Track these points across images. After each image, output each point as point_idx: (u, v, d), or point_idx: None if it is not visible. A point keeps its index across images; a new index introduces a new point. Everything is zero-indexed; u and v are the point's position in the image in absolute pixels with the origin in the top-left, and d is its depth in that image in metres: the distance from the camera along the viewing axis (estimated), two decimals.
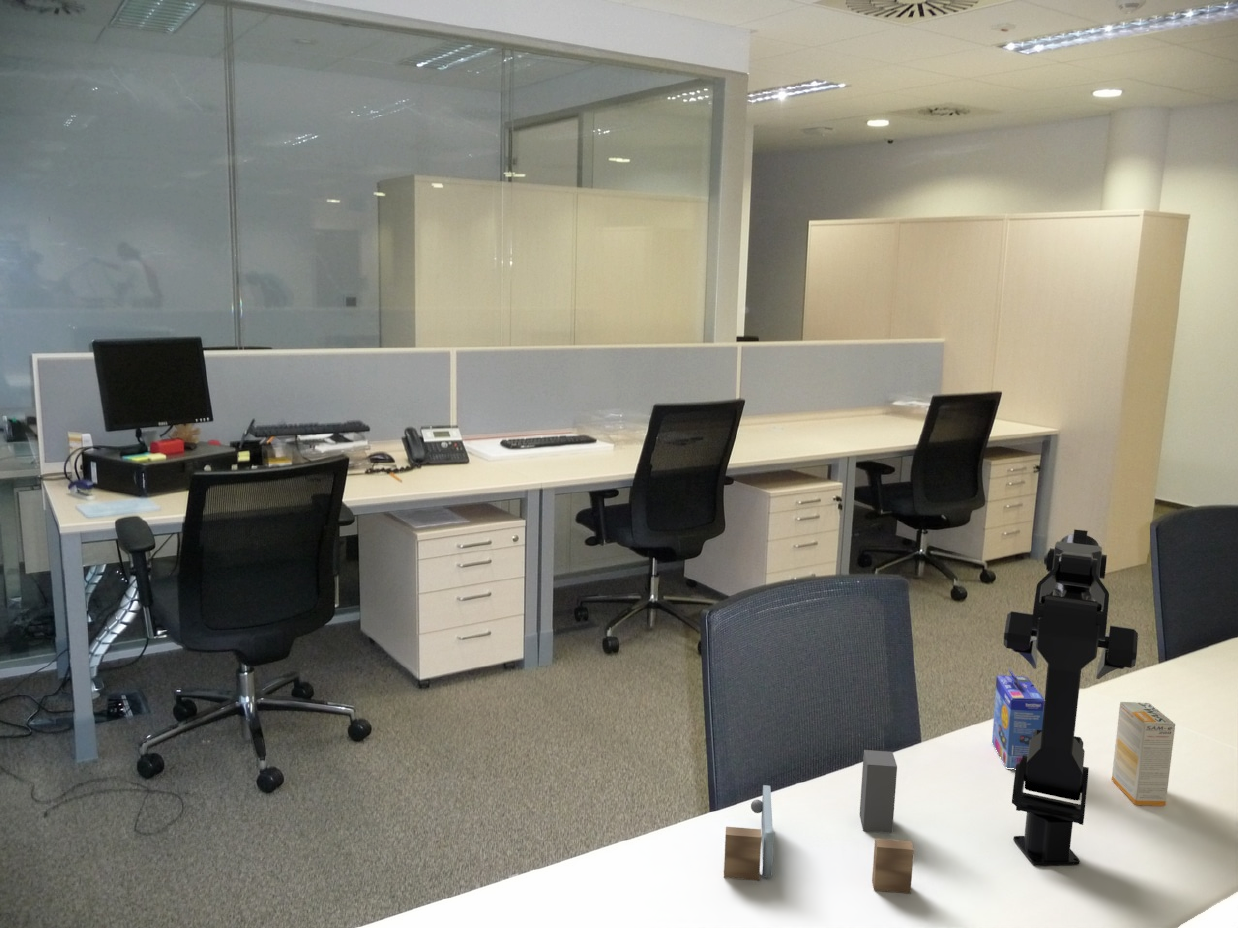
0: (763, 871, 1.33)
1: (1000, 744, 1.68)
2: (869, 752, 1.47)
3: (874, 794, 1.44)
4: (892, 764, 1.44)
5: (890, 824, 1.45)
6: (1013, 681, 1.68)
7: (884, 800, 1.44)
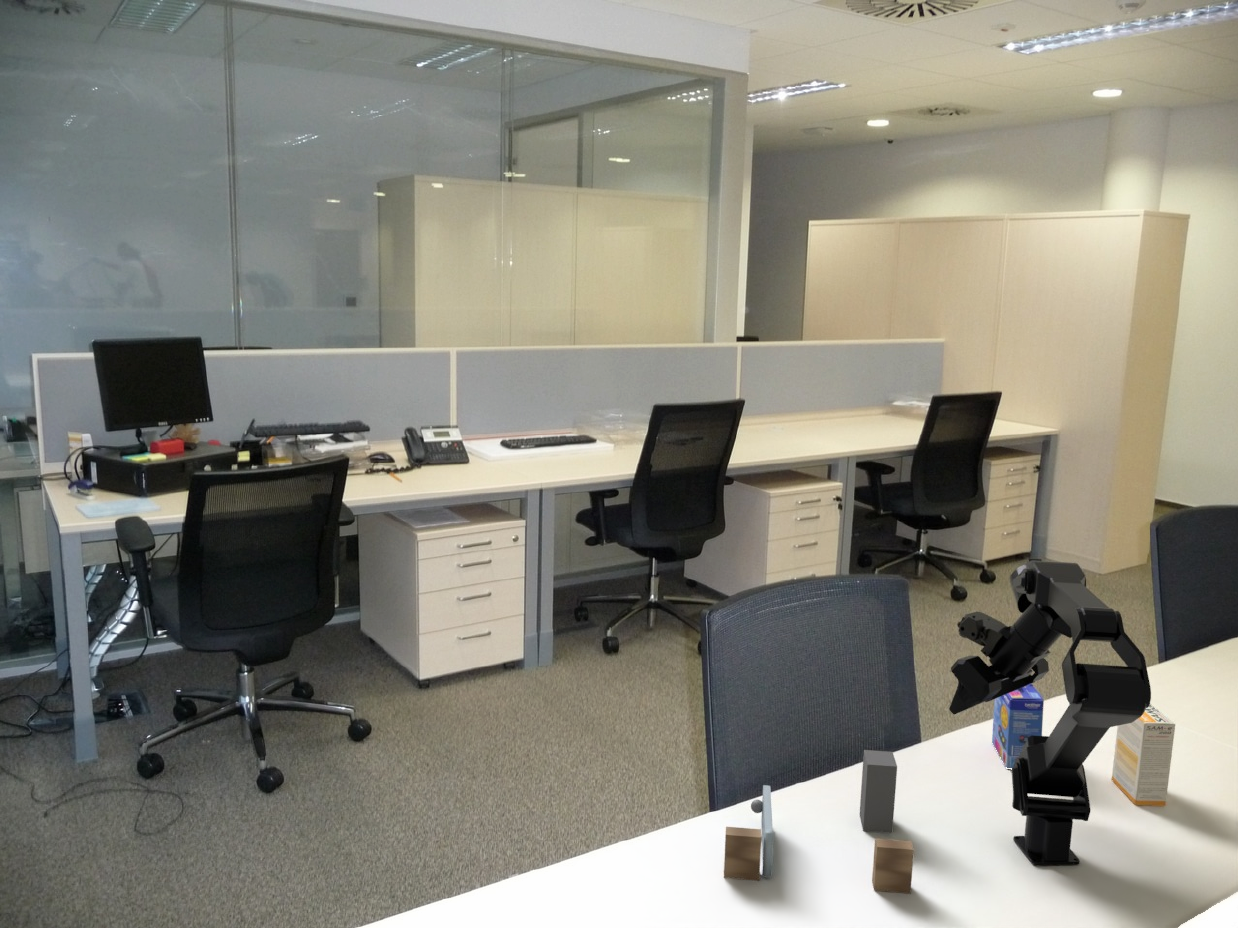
0: (763, 871, 1.33)
1: (1000, 744, 1.68)
2: (869, 752, 1.47)
3: (874, 794, 1.44)
4: (892, 764, 1.44)
5: (890, 824, 1.45)
6: None
7: (884, 800, 1.44)
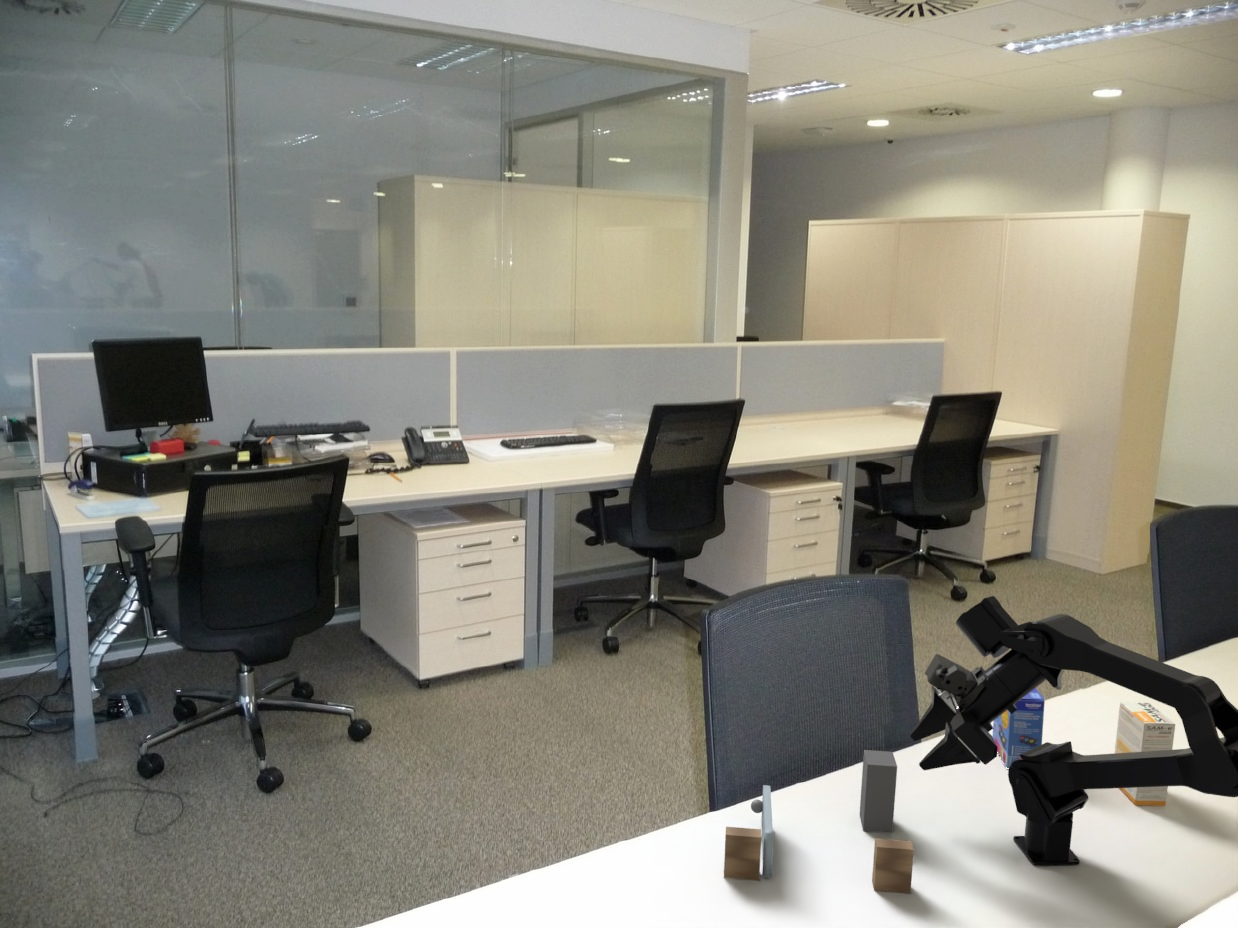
0: (763, 871, 1.33)
1: (1000, 744, 1.68)
2: (869, 752, 1.47)
3: (874, 794, 1.44)
4: (892, 764, 1.44)
5: (890, 824, 1.45)
6: None
7: (884, 800, 1.44)
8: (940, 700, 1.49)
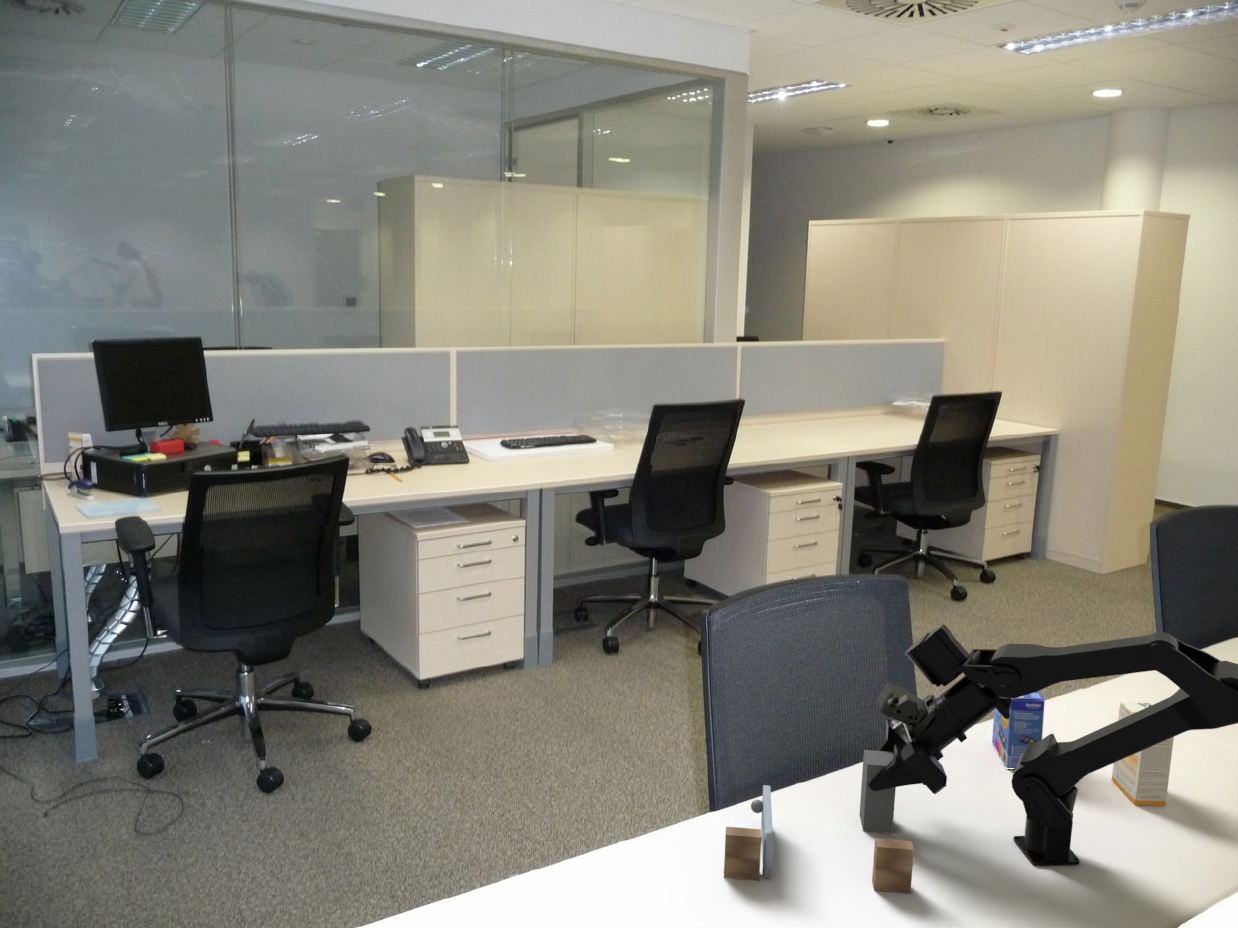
0: (763, 871, 1.33)
1: (1000, 744, 1.68)
2: (869, 752, 1.47)
3: (874, 794, 1.44)
4: None
5: (890, 824, 1.45)
6: None
7: (884, 800, 1.44)
8: (894, 733, 1.48)
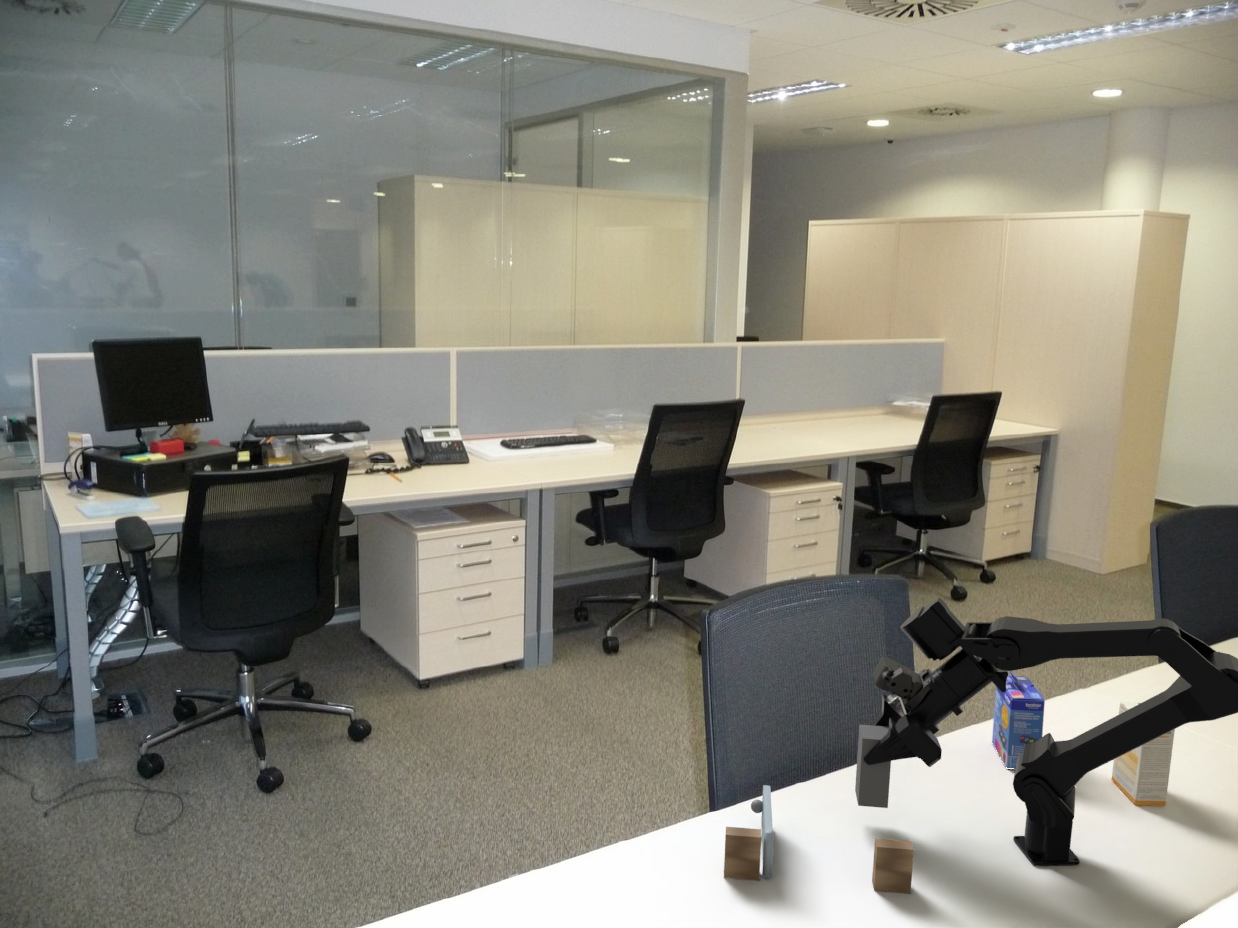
0: (763, 871, 1.33)
1: (1000, 744, 1.68)
2: (864, 727, 1.46)
3: (869, 769, 1.43)
4: None
5: (885, 799, 1.44)
6: (1013, 681, 1.68)
7: (879, 775, 1.43)
8: (890, 708, 1.47)
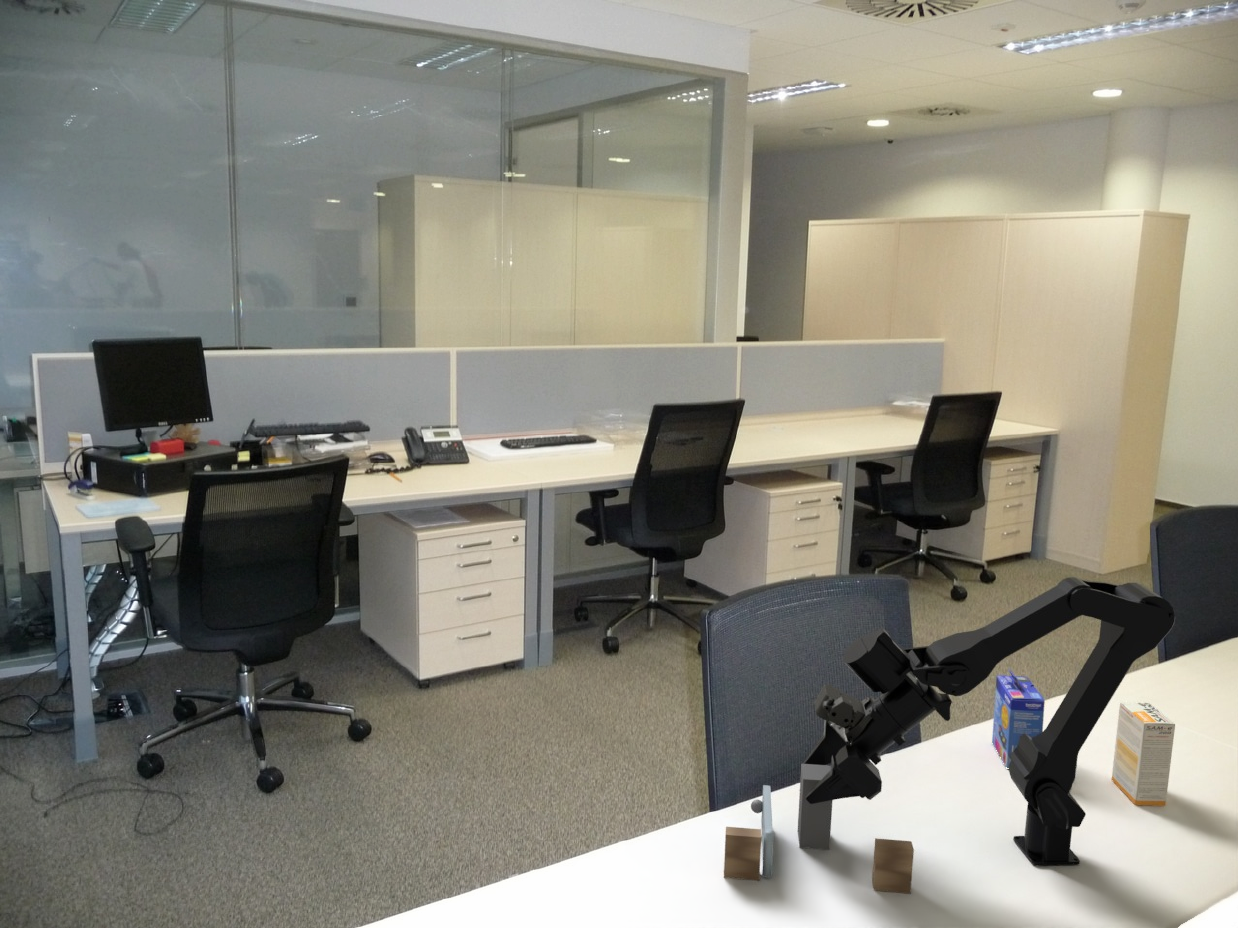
0: (763, 871, 1.33)
1: (1000, 744, 1.68)
2: (806, 766, 1.42)
3: (810, 810, 1.40)
4: None
5: (827, 841, 1.40)
6: (1013, 681, 1.68)
7: (821, 816, 1.40)
8: (832, 730, 1.45)
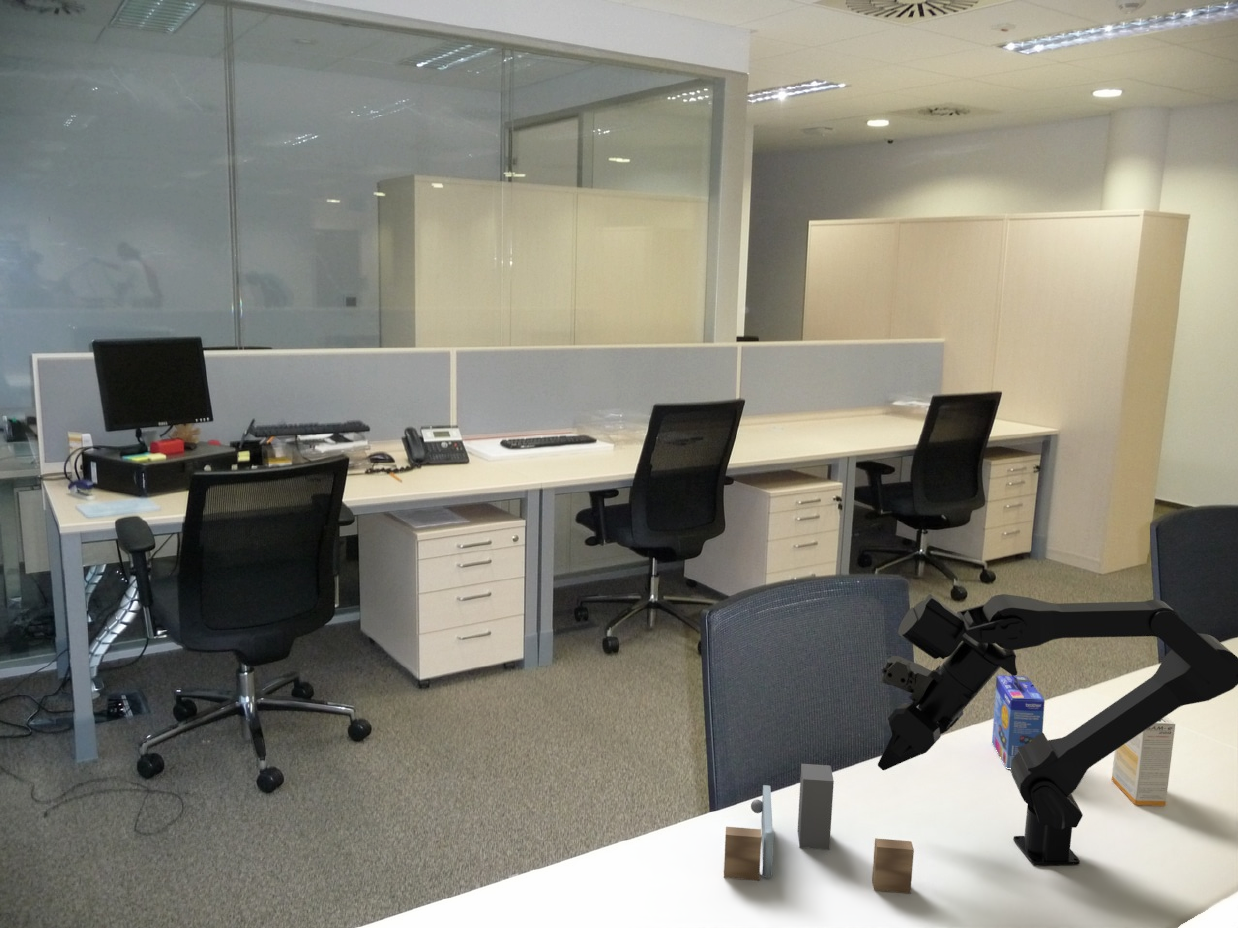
0: (763, 871, 1.33)
1: (1000, 744, 1.68)
2: (806, 766, 1.42)
3: (810, 810, 1.40)
4: (829, 779, 1.39)
5: (827, 841, 1.40)
6: (1013, 681, 1.68)
7: (821, 816, 1.40)
8: None
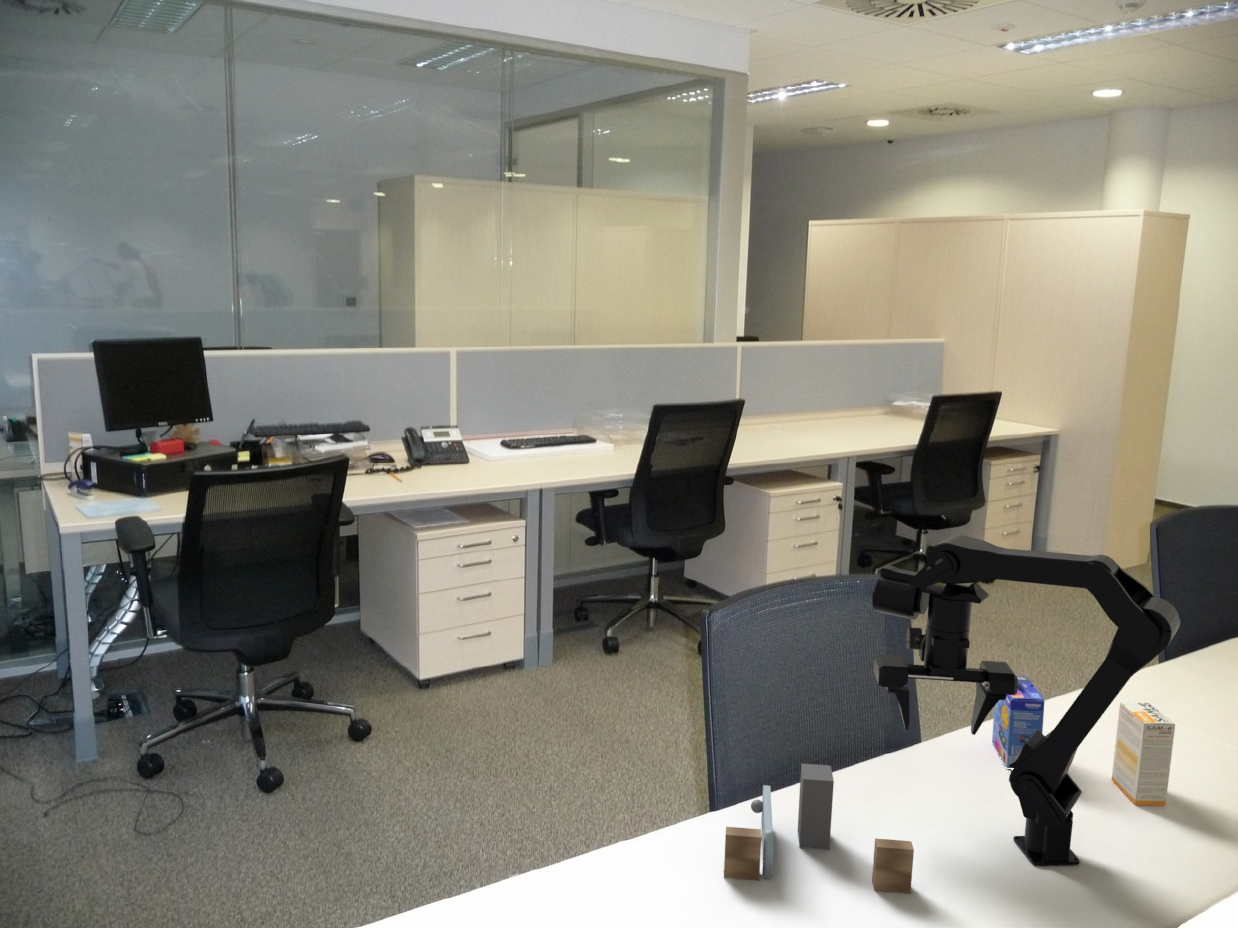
0: (763, 871, 1.33)
1: (1000, 744, 1.68)
2: (806, 766, 1.42)
3: (810, 810, 1.40)
4: (829, 779, 1.39)
5: (827, 841, 1.40)
6: None
7: (821, 816, 1.40)
8: (978, 684, 1.47)
